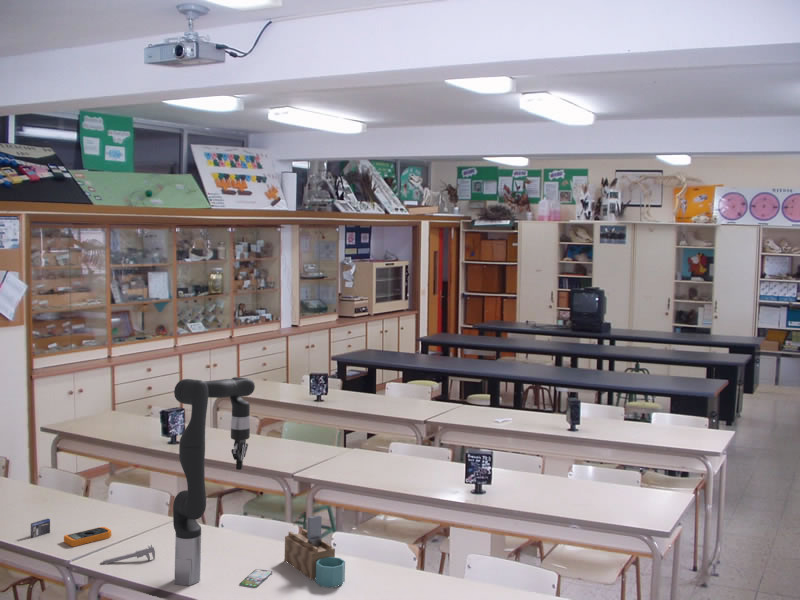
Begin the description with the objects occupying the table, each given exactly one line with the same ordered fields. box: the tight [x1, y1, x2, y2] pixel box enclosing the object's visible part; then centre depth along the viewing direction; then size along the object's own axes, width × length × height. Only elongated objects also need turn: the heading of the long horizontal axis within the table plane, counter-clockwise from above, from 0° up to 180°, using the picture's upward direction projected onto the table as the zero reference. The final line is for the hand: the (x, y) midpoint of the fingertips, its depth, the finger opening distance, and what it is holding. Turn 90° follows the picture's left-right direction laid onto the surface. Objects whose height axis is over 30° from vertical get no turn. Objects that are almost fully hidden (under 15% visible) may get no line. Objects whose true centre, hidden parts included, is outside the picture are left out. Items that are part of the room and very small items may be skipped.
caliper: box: [99, 544, 156, 565], centre depth 314 cm, size 20×1×6 cm, turn 108°
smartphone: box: [238, 568, 273, 589], centre depth 301 cm, size 7×1×15 cm
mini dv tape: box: [30, 518, 51, 539], centre depth 340 cm, size 8×2×6 cm, turn 150°
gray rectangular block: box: [306, 514, 323, 546], centre depth 310 cm, size 3×5×11 cm, turn 126°
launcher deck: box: [283, 528, 336, 580], centre depth 314 cm, size 22×10×12 cm, turn 36°
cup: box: [315, 556, 346, 588], centre depth 301 cm, size 10×10×8 cm
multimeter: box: [63, 526, 112, 548], centre depth 336 cm, size 9×18×3 cm, turn 138°
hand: (239, 469), depth 324 cm, fingers closed
